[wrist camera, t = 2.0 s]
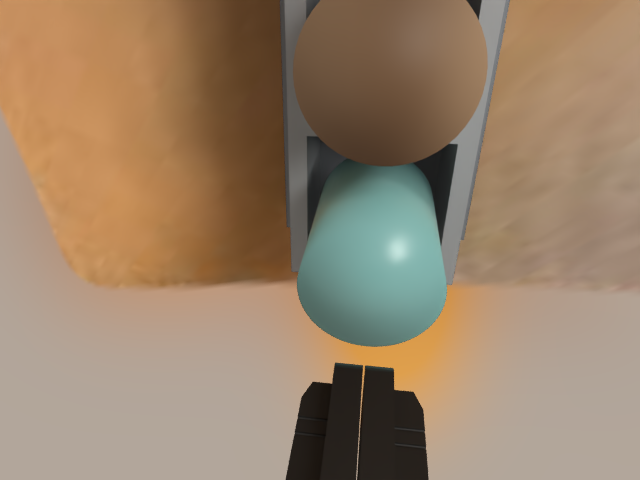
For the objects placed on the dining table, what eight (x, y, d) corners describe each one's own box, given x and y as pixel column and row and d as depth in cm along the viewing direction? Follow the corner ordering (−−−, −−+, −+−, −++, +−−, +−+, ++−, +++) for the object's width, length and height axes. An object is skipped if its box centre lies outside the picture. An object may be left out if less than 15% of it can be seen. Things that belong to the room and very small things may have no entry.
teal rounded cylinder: (440, 154, 20) (458, 232, 15) (425, 254, 23) (436, 352, 17) (321, 147, 21) (295, 220, 15) (320, 246, 23) (298, 339, 18)
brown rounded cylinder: (468, -39, 16) (506, -33, 11) (447, 106, 19) (469, 171, 14) (323, -41, 17) (290, -35, 12) (322, 101, 20) (294, 161, 14)
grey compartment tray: (558, -320, 17) (637, -447, 12) (459, 222, 28) (475, 288, 23) (281, -307, 18) (232, -419, 13) (292, 210, 30) (269, 271, 24)
